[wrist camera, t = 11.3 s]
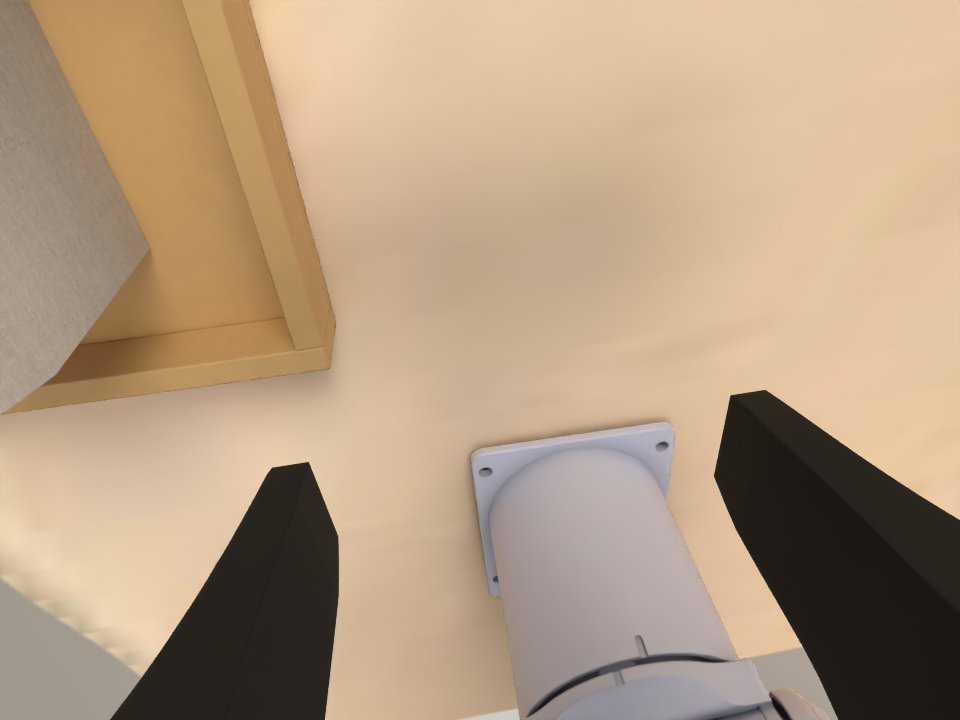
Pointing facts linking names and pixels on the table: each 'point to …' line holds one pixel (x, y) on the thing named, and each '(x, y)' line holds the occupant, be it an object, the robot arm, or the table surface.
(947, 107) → the table surface
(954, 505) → the table surface
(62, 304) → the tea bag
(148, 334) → the tray
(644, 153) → the table surface
